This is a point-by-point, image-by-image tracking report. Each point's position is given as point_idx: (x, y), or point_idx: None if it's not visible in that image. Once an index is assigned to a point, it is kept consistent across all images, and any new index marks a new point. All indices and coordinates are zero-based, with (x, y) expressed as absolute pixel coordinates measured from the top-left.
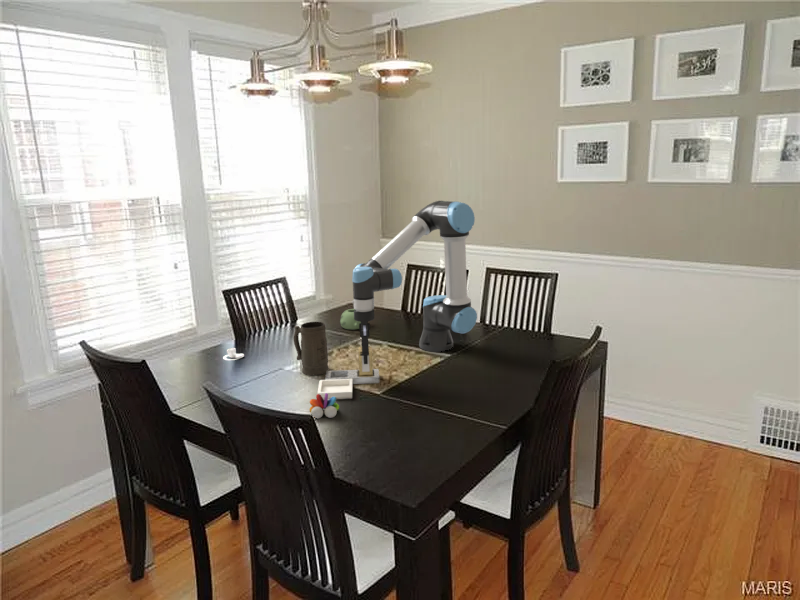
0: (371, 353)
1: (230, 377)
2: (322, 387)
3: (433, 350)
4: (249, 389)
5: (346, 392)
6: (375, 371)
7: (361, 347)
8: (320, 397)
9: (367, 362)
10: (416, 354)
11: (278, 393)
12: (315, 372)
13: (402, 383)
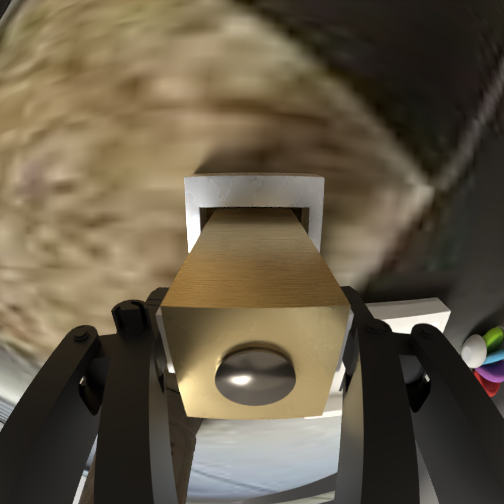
0: (339, 295)
1: (216, 493)
2: (328, 396)
3: (5, 2)
4: (283, 480)
5: (443, 328)
6: (230, 197)
7: (194, 399)
8: (493, 385)
9: (358, 294)
10: (4, 46)
11: (322, 453)
12: (197, 421)
13: (332, 56)
